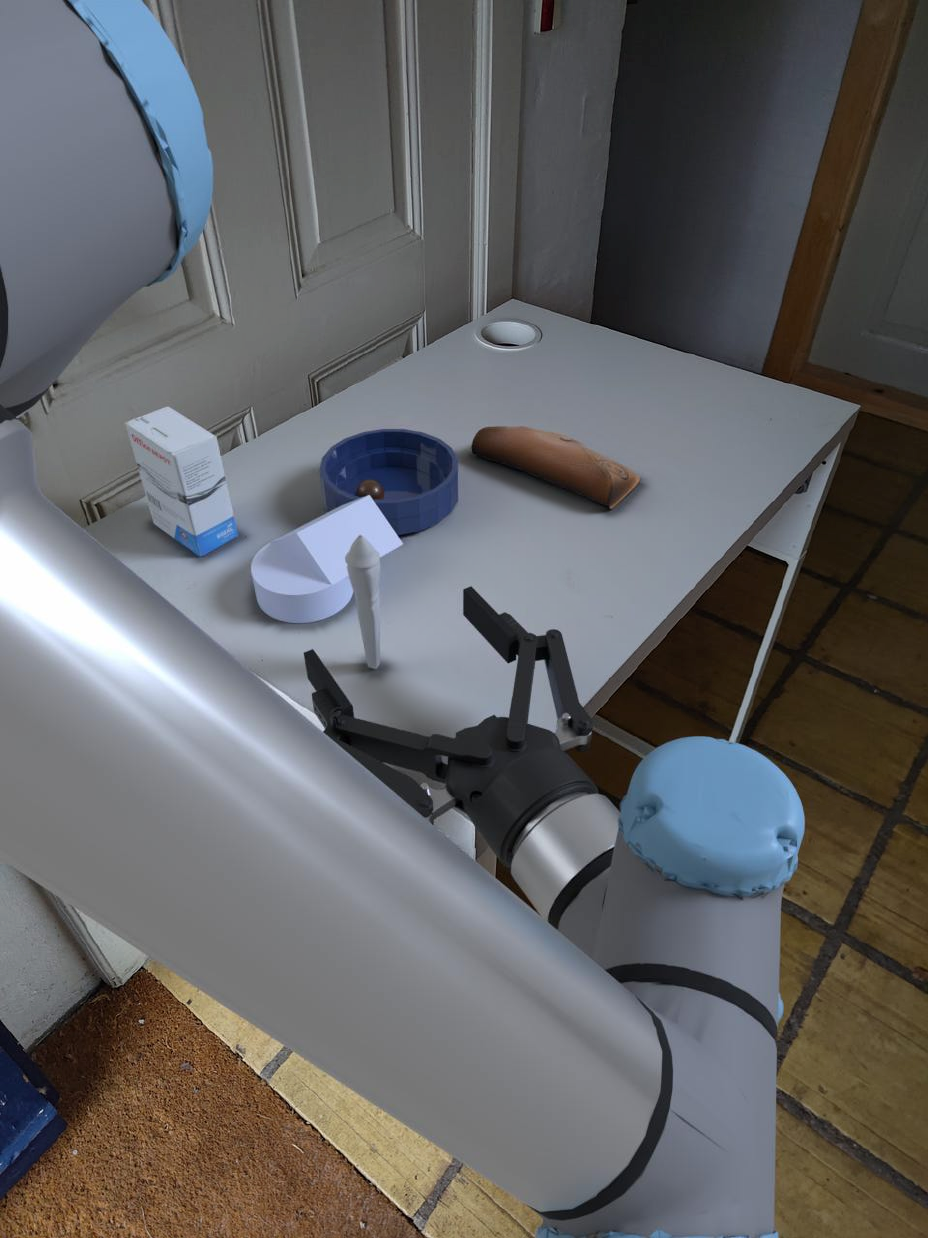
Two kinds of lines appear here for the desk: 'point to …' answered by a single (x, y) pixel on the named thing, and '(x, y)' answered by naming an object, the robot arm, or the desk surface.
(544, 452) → the sunglasses case
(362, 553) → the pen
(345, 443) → the bowl
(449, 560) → the desk surface
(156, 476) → the ink box
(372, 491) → the ball
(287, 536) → the wedge on round base
